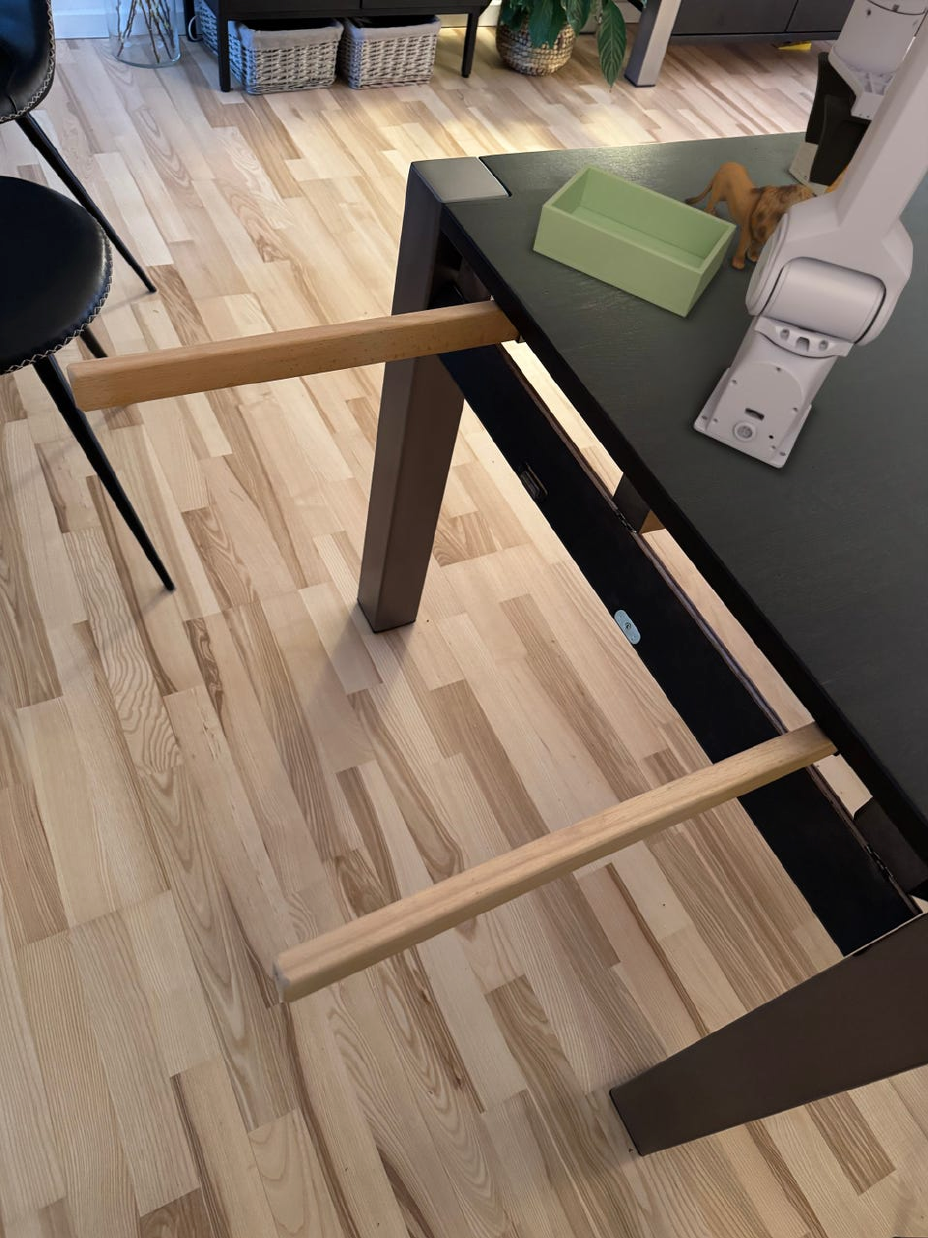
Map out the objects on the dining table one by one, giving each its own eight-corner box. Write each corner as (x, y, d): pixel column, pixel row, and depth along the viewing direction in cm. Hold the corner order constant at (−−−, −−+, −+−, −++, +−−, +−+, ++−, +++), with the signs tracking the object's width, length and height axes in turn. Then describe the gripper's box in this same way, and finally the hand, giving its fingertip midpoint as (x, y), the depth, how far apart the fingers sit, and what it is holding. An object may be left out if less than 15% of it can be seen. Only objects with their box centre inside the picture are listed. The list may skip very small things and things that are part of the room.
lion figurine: (795, 278, 90) (837, 193, 83) (758, 290, 88) (799, 203, 81) (699, 201, 96) (731, 115, 89) (663, 210, 94) (693, 123, 87)
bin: (684, 317, 84) (702, 274, 80) (532, 250, 87) (542, 205, 83) (719, 267, 89) (737, 225, 86) (575, 206, 92) (586, 162, 89)
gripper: (953, 46, 69) (865, 211, 80) (928, -22, 78) (852, 135, 89) (865, 25, 69) (789, 193, 80) (850, -41, 78) (783, 119, 89)
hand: (817, 162), depth 85 cm, fingers open, 7 cm apart
